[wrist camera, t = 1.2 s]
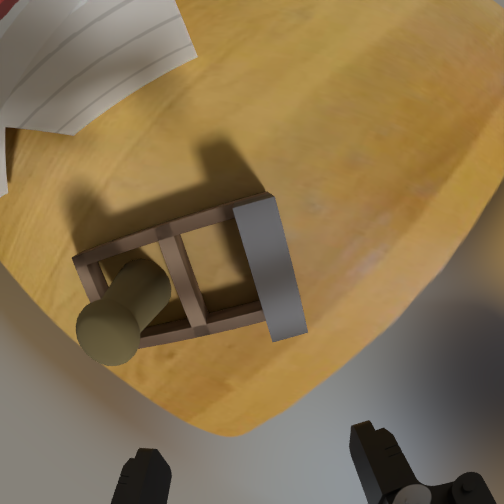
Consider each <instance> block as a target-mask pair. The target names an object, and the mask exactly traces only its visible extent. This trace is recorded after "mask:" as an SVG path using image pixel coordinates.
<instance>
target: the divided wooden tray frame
mask: <svg viewBox="0 0 504 504" xmlns="http://www.w3.org/2000/svg"><path fill="white" fill-rule="evenodd" d="M232 218H235V219H236V222H237V225H238V229H239V232H240V235H241V239H242V242H243V246H244V249H245V252H246V256H247V259H248V262H249V266H250V269H251V272H252V276H253V279H254V282H255V286H256V289H257V292H258V296H259V299H260V300H259V301H255V302H251V303H248V304H244V305H240V306H236V307H232V308H228V309H224V310H220V311H216V312H212V313H208V310H207V307H206V305H205V302H204V300H203V297H202V294H201V292H200V289H199V286H198V283H197V281H196V278H195V275H194V272H193V270H192V267H191V264H190V261H189V258H188V256H187V253H186V250H185V247H184V244H183V241H182V238H181V235H180V234H182V233H185V232H189V231H192V230H195V229H198V228H202V227H205V226H208V225H212V224H215V223H219V222H222V221H225V220H229V219H232ZM157 241H158V242H159V245H160V248H161V250H162V253H163V256H164V259H165V261H166V264H167V267H168V270H169V272H170V275H171V277H172V280H173V283H174V285H175V288H176V290H177V293H178V295H179V298H180V300H181V303H182V305H183V308H184V310H185V313H186V315H187V317H188V318H187V319H183V320H178V321H174V322H169V323H165V324H160V325H156V326H151V327H146V328H144V329H143V330H142V332H141V333H140V344H139V346H138V349H140V348H146V347H151V346H156V345H162V344H167V343H172V342H177V341H182V340H187V339H192V338H196V337H201V336H205V335H210V334H214V333H219V332H223V331H227V330H231V329H236V328H240V327H244V326H248V325H252V324H255V323H259V322H263V321H266V322H267V325H268V329H269V332H270V335H271V338H272V342H276V341H279V340H283V339H287V338H290V337H294V336H298V335H301V334H304V333H308V330H307V325H306V321H305V317H304V312H303V308H302V304H301V299H300V295H299V291H298V287H297V282H296V278H295V274H294V270H293V266H292V262H291V258H290V254H289V250H288V246H287V242H286V238H285V234H284V230H283V226H282V222H281V219H280V215H279V211H278V207H277V204H276V200H275V197H274V196H273V195H272V194H270V193H269V192H263V193H260V194H256V195H253V196H249V197H245V198H242V199H238V200H235V201H231V202H228V203H225V204H221V205H218V206H215V207H211V208H208V209H205V210H201V211H198V212H195V213H192V214H189V215H186V216H182V217H179V218H176V219H173V220H170V221H167V222H164V223H161V224H158V225H155V226H152V227H149V228H146V229H143V230H140V231H137V232H135V233H132V234H129V235H126V236H123V237H120V238H118V239H115V240H112V241H109V242H107V243H104V244H101V245H99V246H96V247H93V248H91V249H88V250H85V251H83V252H81V253H79V254H77V255H75V256H74V257H72V260H73V263H74V265H75V268H76V270H77V273H78V275H79V278H80V280H81V282H82V285H83V287H84V289H85V292H86V294H87V296H88V298H89V301H90V303H92V302H93V301H96V300H99V299H101V298H102V297H103V295H104V294H105V292H106V291H107V289H108V286H107V284H106V281H105V279H104V277H103V274H102V272H101V269H100V267H99V264H98V261H100V260H102V259H105V258H108V257H111V256H114V255H117V254H120V253H123V252H126V251H129V250H132V249H135V248H138V247H141V246H144V245H147V244H150V243H154V242H157Z"/></svg>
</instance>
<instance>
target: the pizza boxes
mask: <svg viewBox="0 0 504 504" xmlns="http://www.w3.org/2000/svg"><path fill="white" fill-rule="evenodd" d="M197 57H198V56H197V54H196V51H195V49H194V46H193V44H192V41H191V39H190V36H189V34H188V31H187V29H186V26H185V24H184V21H183V19H182V17H181V14H180V12H179V9H178V7H177V4H176V2H175V0H0V197H2V196H3V195H5V194H7V193H8V187H7V176H6V159H5V127H11V128H21V129H30V130H38V131H45V132H53V133H60V134H66V135H72V136H74V135H75V134H76V133H78V132H79V131H80V130H81V129H82V128H84V127H85V126H86V125H88V124H89V123H90V122H91V121H93V120H94V119H95V118H97V117H98V116H99V115H101V114H102V113H104V112H105V111H106V110H108V109H109V108H111V107H112V106H113V105H115V104H116V103H118V102H119V101H121V100H122V99H124V98H125V97H127V96H128V95H130V94H132V93H133V92H135V91H136V90H138V89H140V88H141V87H143V86H144V85H146V84H148V83H149V82H151V81H153V80H155V79H156V78H158V77H160V76H162V75H163V74H165V73H167V72H169V71H171V70H173V69H175V68H176V67H178V66H180V65H182V64H184V63H186V62H188V61H190V60H192V59H195V58H197Z"/></svg>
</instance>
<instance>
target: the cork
mask: <svg viewBox="0 0 504 504" xmlns="http://www.w3.org/2000/svg"><path fill="white" fill-rule="evenodd" d="M170 297H171V284H170V280H169V278H168V276H167V275H166V273H165V271H164V270H163V269H162V268H161V267H160V266H158V265H157V264H155V263H153V262H151V261H150V260H145V259H136V260H132V261H130V262H128V263H126V264H125V265H124V266H123V268H122V269H121V270H120V272H119V273H118V275H117V276H116V277H115V279H114V280H113V282H112V283H111V285H110V286H109V288H108V289H107V291H106V292H105V294H104V295H103V297H102V298H101V299H99V300H96V301H93V302H92V303H90V304H88V305H87V306H85V307H84V308H83V310H82V311H81V313H80V314H79V316H78V318H77V323H76V334H77V339H78V341H79V344H80V346H81V347H82V349H83V350H84V351H85V353H86V354H87V355H88V356H90V357H91V358H92V359H93V360H95V361H97V362H98V363H100V364H104V365H107V366H117V365H121V364H124V363H126V362H128V361H129V360H130V359H131V358H132V357H133V356H134V355H135V353H136V351H137V349H138V346H139V344H140V333H141V332H142V330H143V329H144V328H145V327H146V326H147V325H148V324H149V323H150V322H151V321H152V320H153V319H154V318H155V317H156V315H157V314H158V313H159V312H160V311H161V310H162V309H163V308H164V307H165V306H166V305H167V304H168V302H169V299H170Z"/></svg>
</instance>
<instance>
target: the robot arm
mask: <svg viewBox="0 0 504 504" xmlns="http://www.w3.org/2000/svg"><path fill="white" fill-rule="evenodd" d="M349 448H350V453H351V457H352V460H353V462H354V465H355V468H356V471H357V473H358V476H359V479H360V481H361V484H362V487H363V490H364V492H365V495H366V498H367V501H368V504H496V502H495V500H494V498H493V496H492V494H491V492H490V490H489V489H488V487H487V485H486V483H485V481H484V480H483V478H482V476H481V475H480V474H478V473H475V472H467V473H464V474H462V475H461V476H459V477H458V478H457V479H456V480H455V481H454V482H450V483H446V484H442V485H437V486H427V485H424V484H422V483H420V482H419V481H418V480H417V479H416V477H415V475H414V473H413V471H412V469H411V468H410V466H409V464H408V462H407V460H406V458H405V456H404V454H403V453H402V451H401V448H400V447H399V446H398V443H397V441H396V439H395V437H394V436H393V434H391V433H390V432H389V431H388V430H386V429H385V428H381V429H379V430H376V431H375V429H374V427H373V425H372V423H371V422H370V421H369V420H368V421H365V422H362V423H358V424H355V425H352V426H351V434H350V443H349ZM120 475H121V477H119V481H118V484H117V486H116V489H115V492H114V495H113V498H112V501H111V504H167V499H168V494H169V488H170V483H171V478H172V475H171V469H170V466H169V465H168V464H167V462H166V461H165V460H164V458H163V457H162V455H161V454H160V452H159V451H158V450H157V449H148V448H139V449H138V451H137V454H136V456H135V458H130V459H129V460H128V461H127V463H126V464H125V465H124V466H123V468H122V471H121V474H120Z"/></svg>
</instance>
